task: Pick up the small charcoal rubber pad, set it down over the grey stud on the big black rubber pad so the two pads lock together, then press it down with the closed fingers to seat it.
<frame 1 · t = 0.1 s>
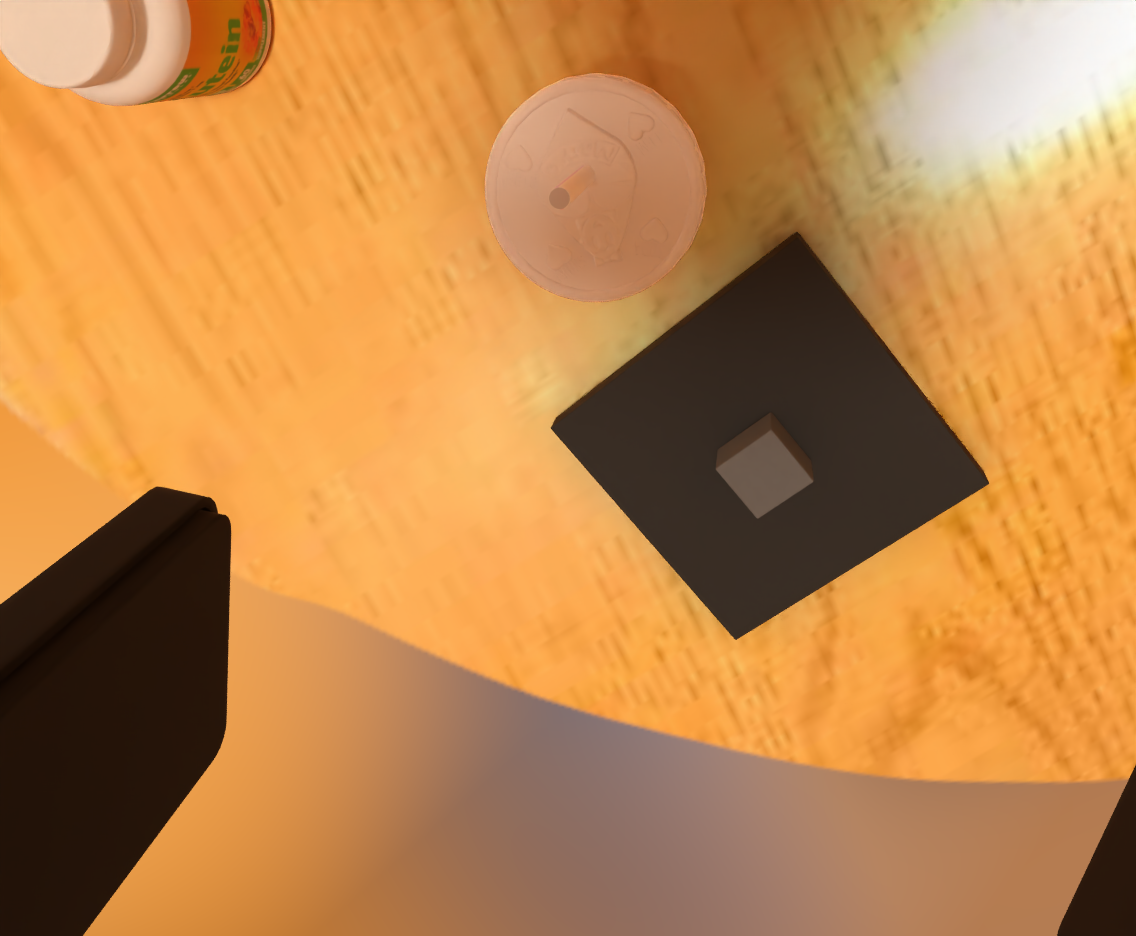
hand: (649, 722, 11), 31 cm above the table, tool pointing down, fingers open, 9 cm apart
smoothie: (631, 154, 39), on the table
supplement bottle: (209, 17, 40), on the table
base pad: (764, 444, 42), on the table
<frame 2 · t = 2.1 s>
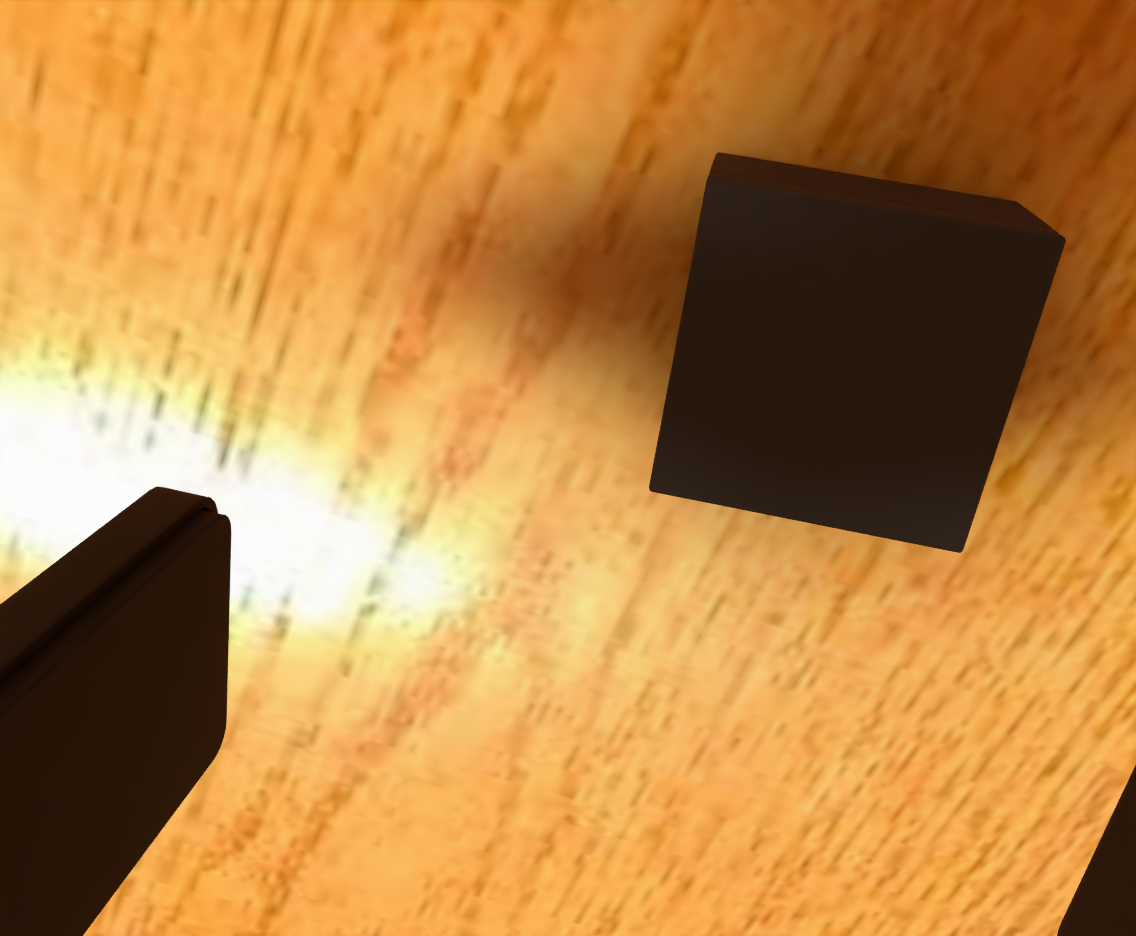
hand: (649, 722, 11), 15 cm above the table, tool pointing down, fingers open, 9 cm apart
top pad: (829, 320, 24), on the table
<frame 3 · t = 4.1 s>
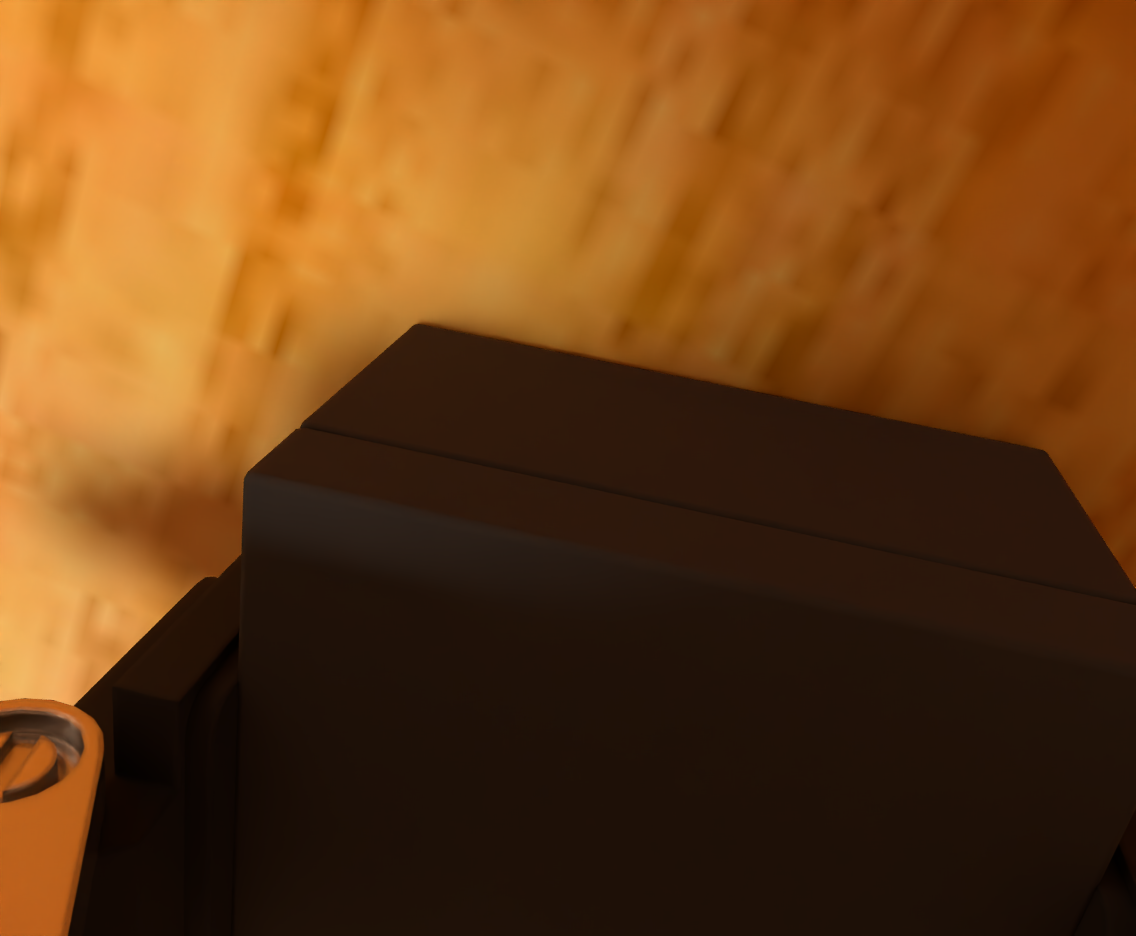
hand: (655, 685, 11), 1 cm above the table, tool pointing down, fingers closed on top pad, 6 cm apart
top pad: (662, 649, 12), on the table, touching gripper
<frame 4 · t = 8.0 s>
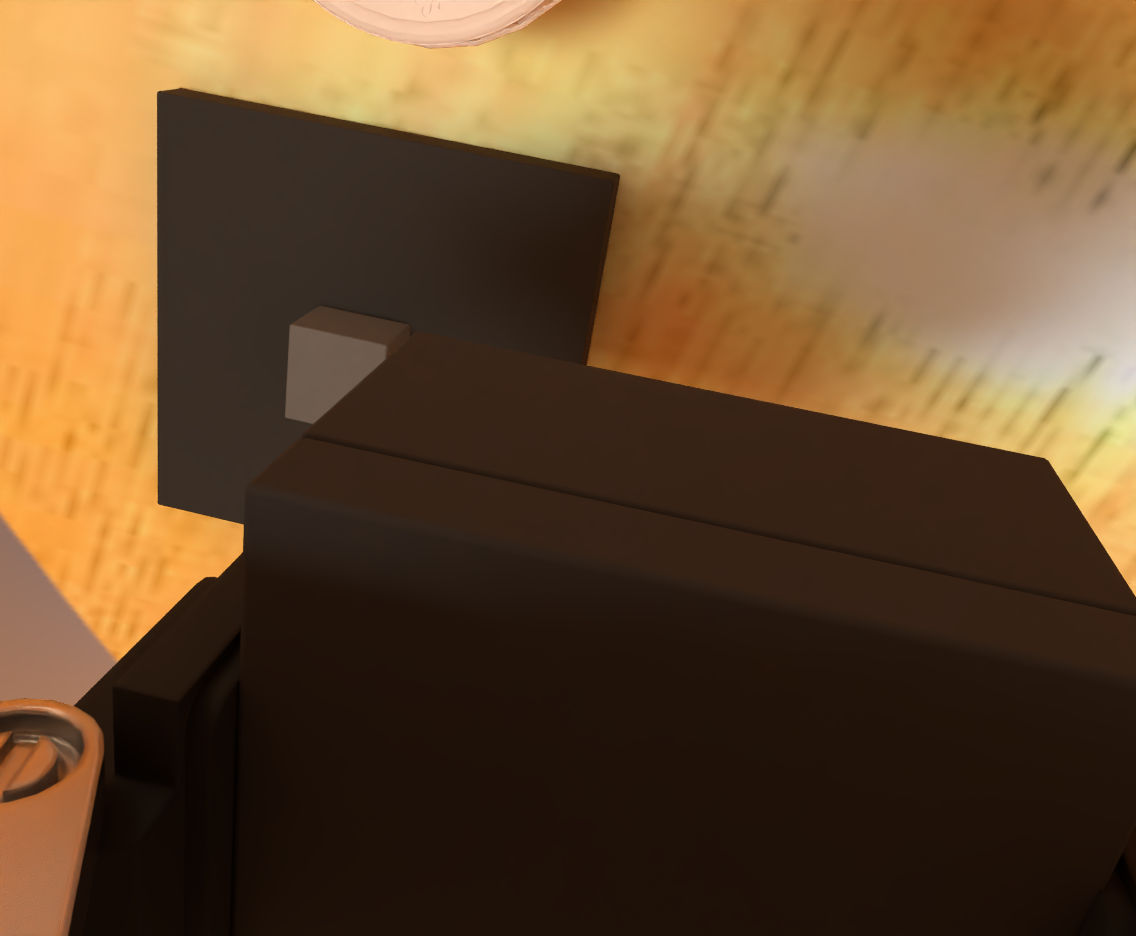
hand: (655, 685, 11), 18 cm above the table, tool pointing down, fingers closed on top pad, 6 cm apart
base pad: (376, 347, 30), on the table
top pad: (663, 656, 12), point 17 cm above the table, touching gripper
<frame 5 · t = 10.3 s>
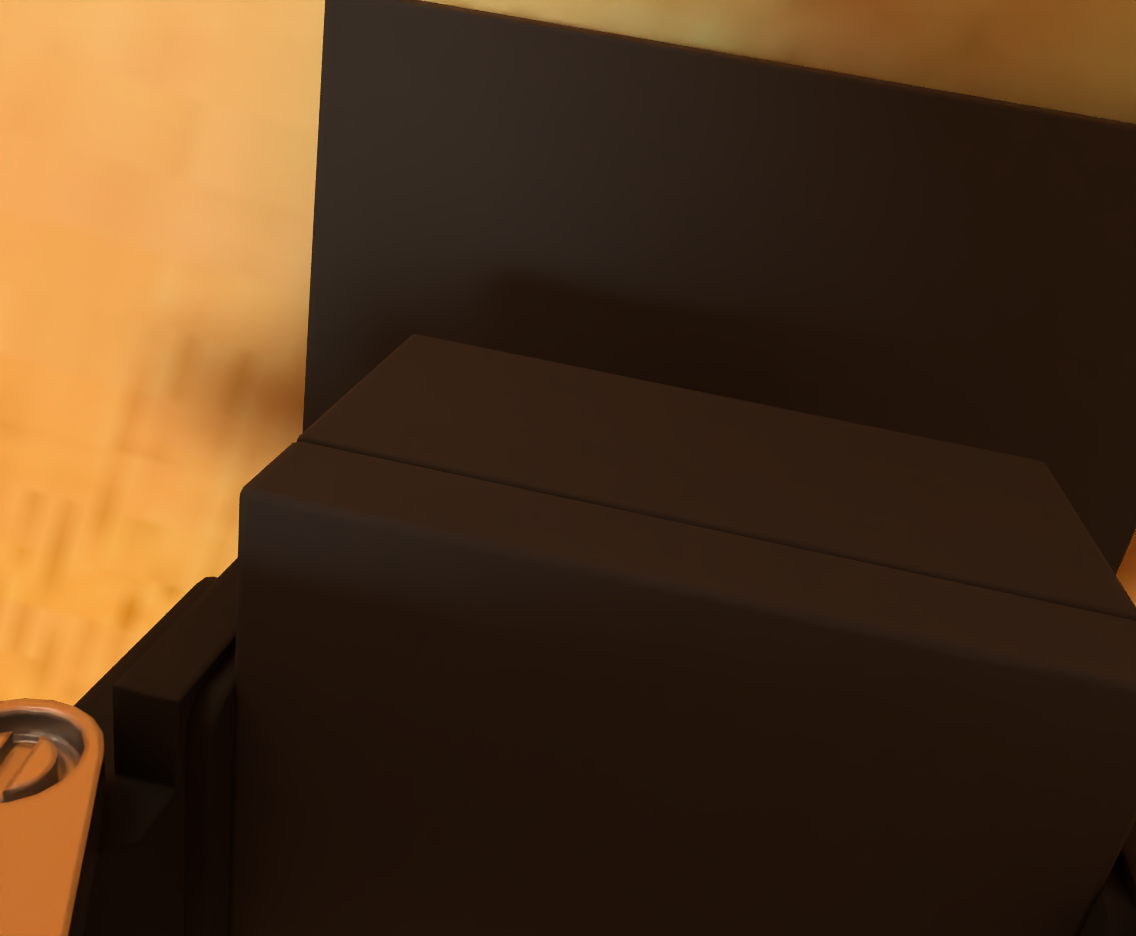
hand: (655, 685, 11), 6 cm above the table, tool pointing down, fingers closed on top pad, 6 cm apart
base pad: (696, 468, 17), on the table
top pad: (660, 658, 12), point 5 cm above the table, touching gripper
when the fingers open (2 cm above the table, at t = 12.0 s): top pad stays where it is, resting on base pad.
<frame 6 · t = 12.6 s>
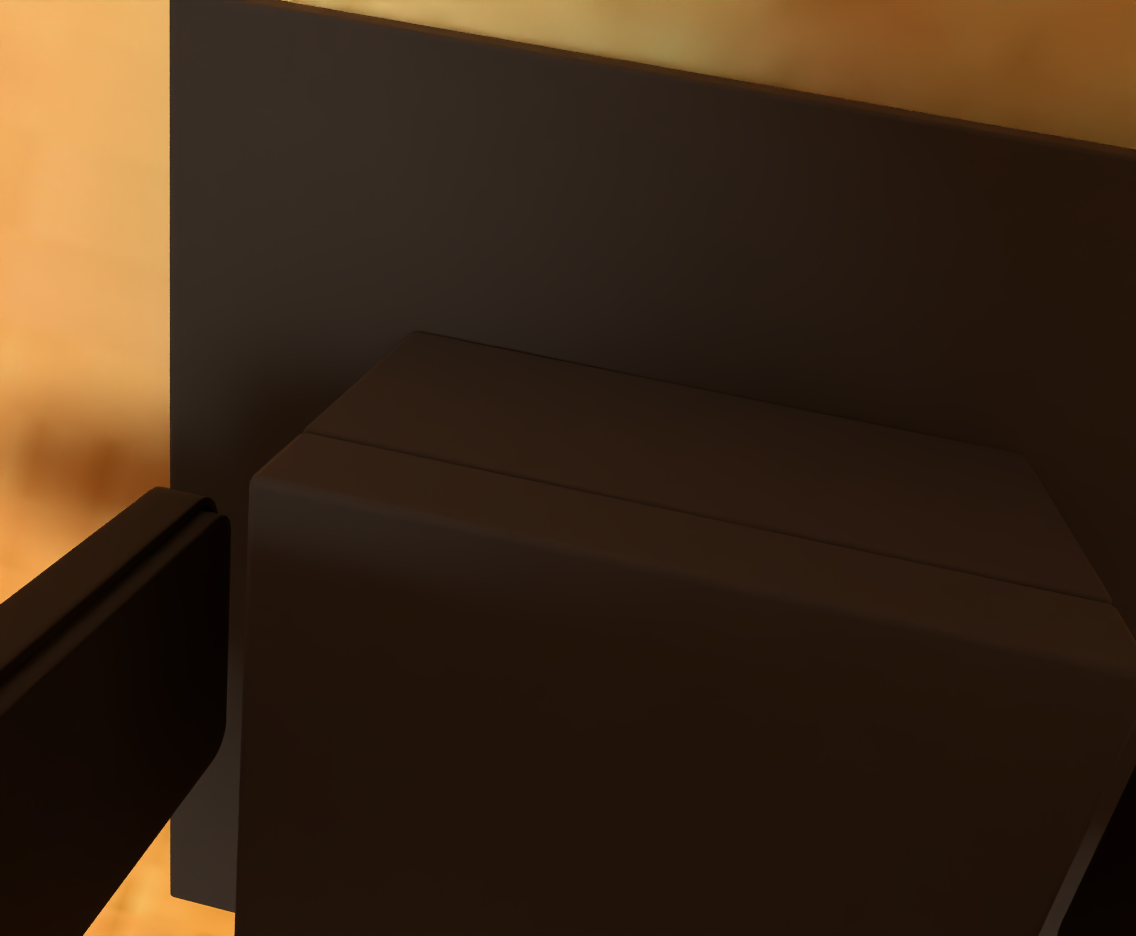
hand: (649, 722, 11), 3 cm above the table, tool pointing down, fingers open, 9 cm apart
base pad: (667, 589, 13), on the table
top pad: (653, 647, 12), point 1 cm above the table, touching base pad
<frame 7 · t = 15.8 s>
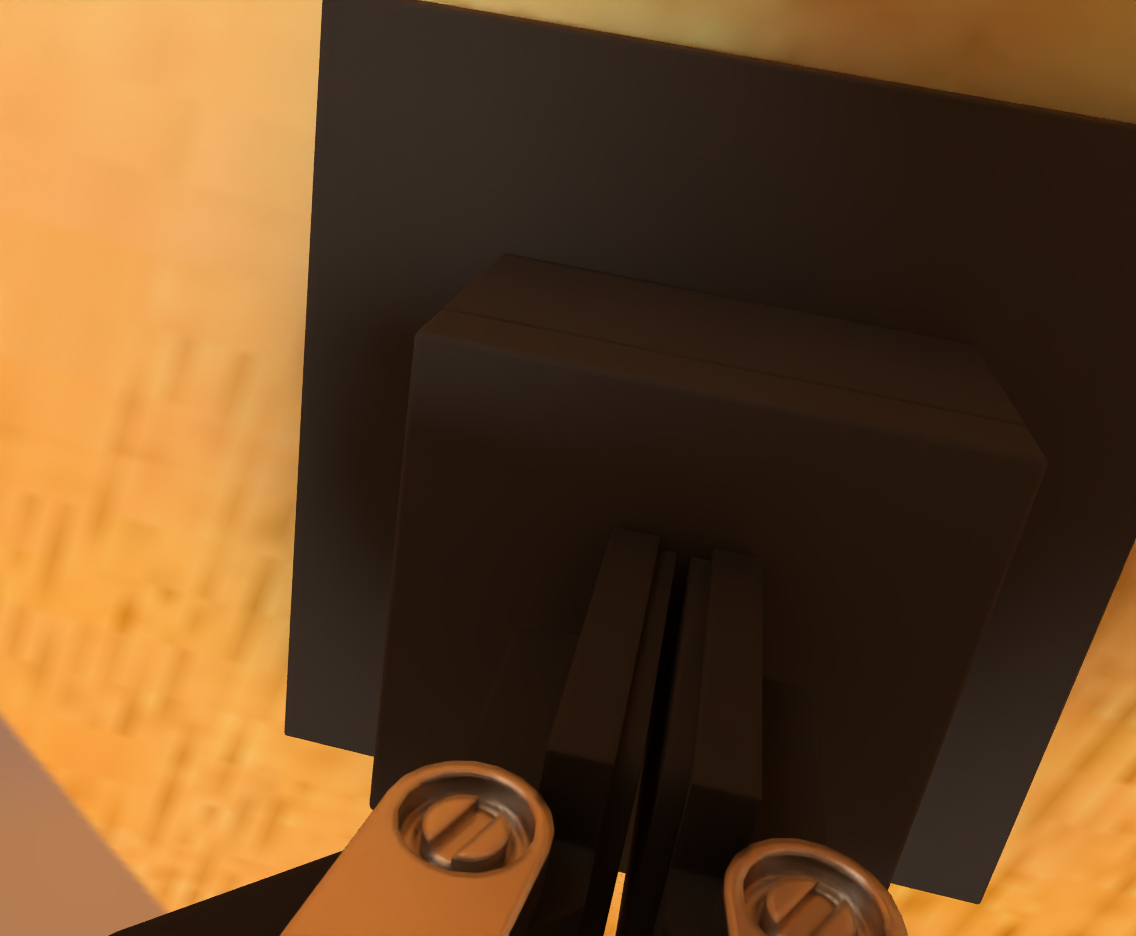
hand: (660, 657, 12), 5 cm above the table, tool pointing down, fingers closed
base pad: (696, 471, 16), on the table
top pad: (687, 509, 15), point 1 cm above the table, touching base pad, gripper
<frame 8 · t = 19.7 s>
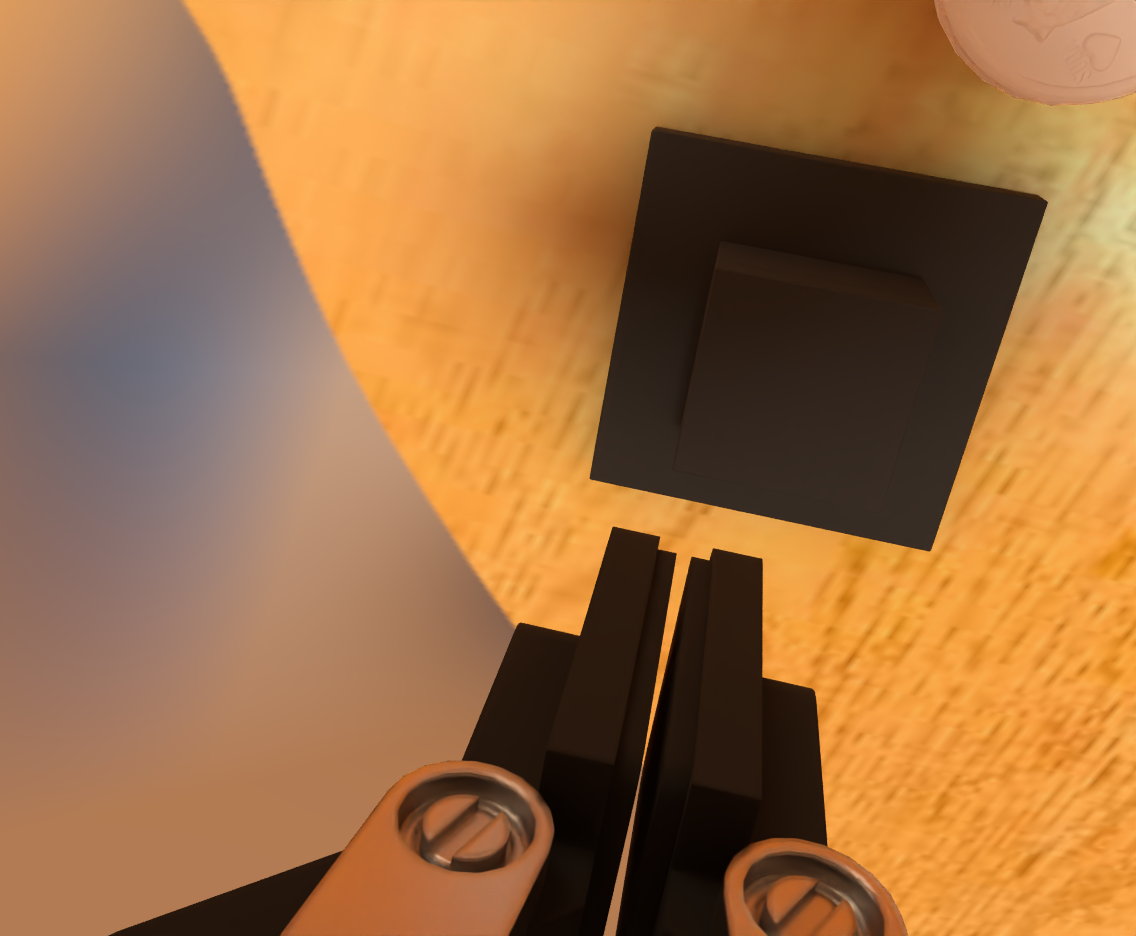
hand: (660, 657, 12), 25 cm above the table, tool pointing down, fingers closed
base pad: (797, 342, 36), on the table
top pad: (796, 355, 34), point 1 cm above the table, touching base pad
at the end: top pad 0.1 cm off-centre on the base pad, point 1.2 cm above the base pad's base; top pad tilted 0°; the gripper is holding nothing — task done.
